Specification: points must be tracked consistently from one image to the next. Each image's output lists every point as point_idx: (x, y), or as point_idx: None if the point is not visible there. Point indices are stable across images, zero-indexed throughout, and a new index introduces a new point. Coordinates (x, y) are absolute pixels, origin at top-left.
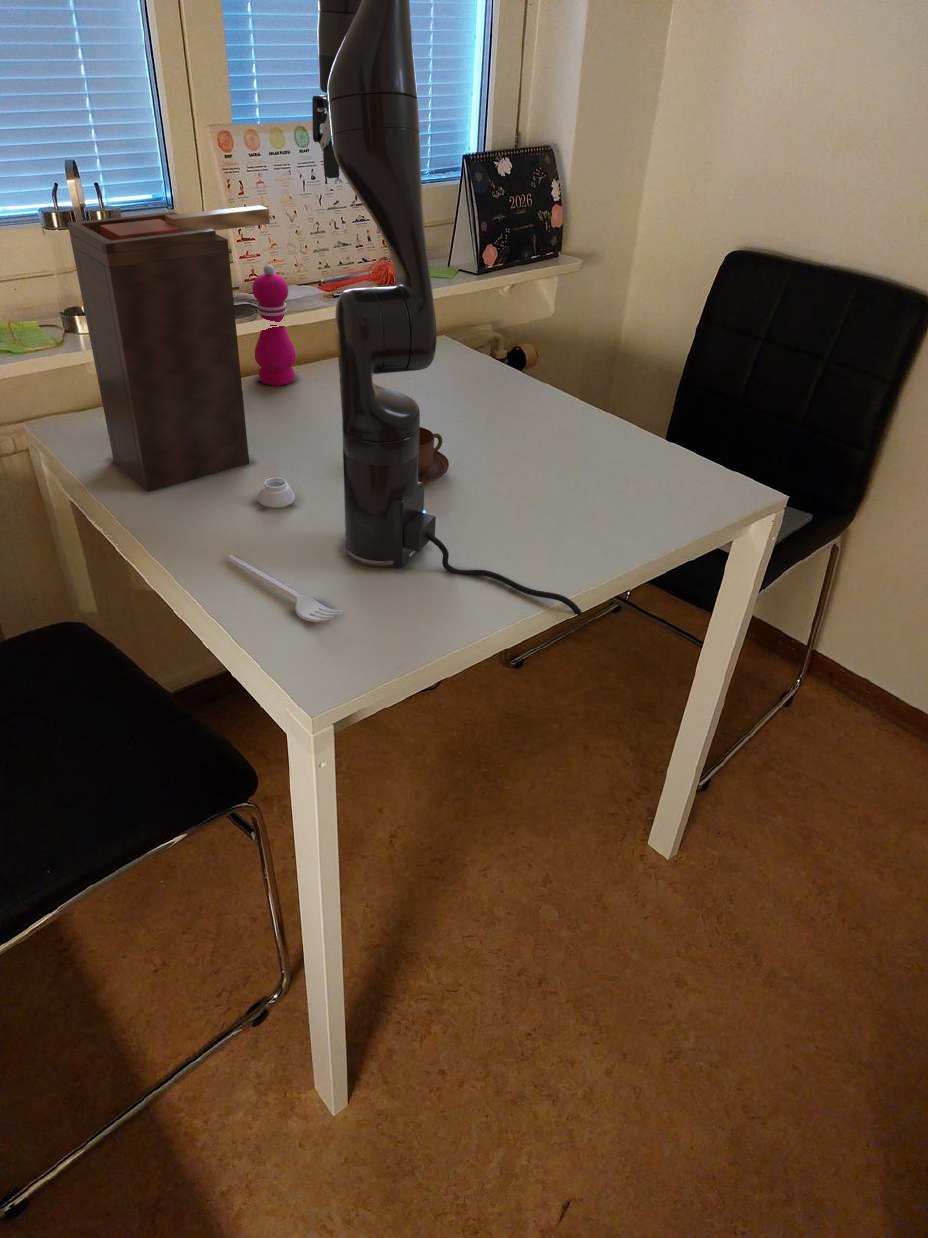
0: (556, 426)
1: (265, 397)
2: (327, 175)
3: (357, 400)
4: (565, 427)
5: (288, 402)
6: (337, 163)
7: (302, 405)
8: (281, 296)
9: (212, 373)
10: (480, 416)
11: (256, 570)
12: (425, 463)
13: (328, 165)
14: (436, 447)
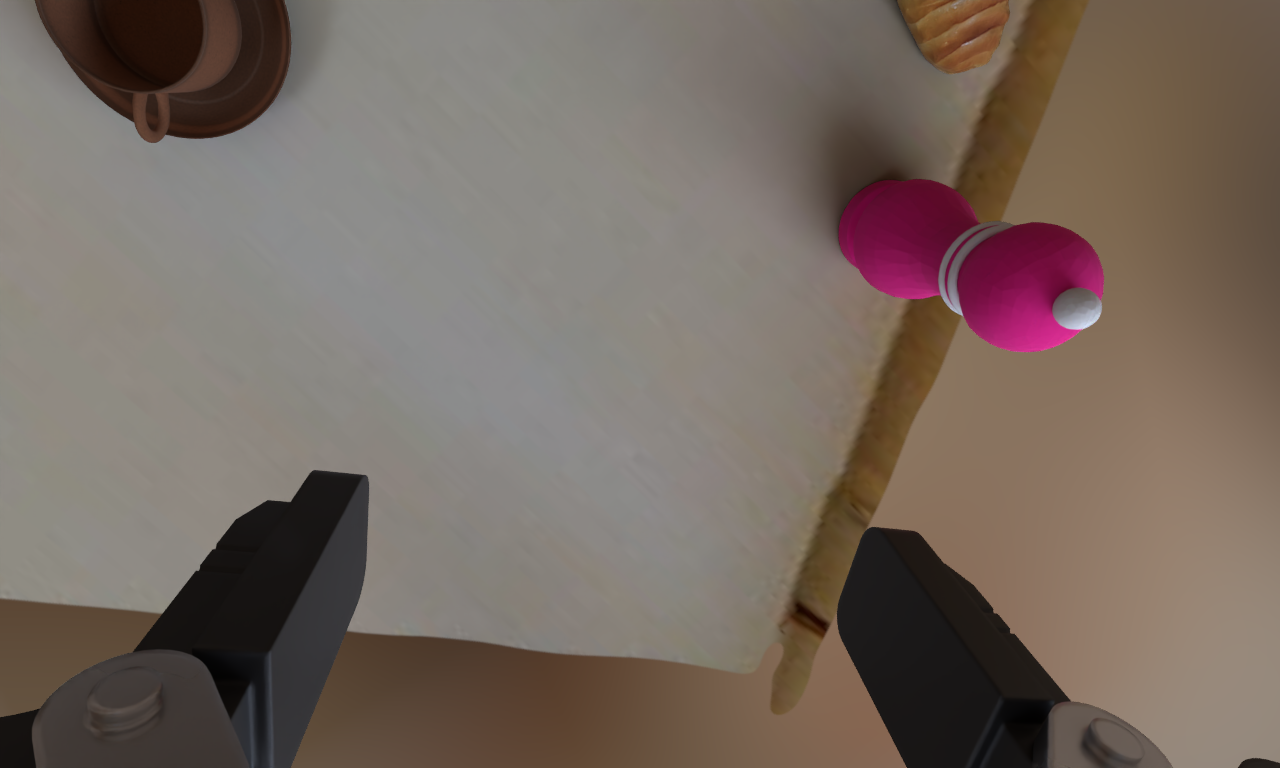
0: (200, 502)
1: (824, 114)
2: (878, 532)
3: None
4: (183, 511)
5: (755, 136)
6: (879, 692)
7: (714, 149)
8: (963, 281)
9: None
10: (357, 422)
11: None
12: (78, 4)
13: (910, 599)
14: (158, 119)
